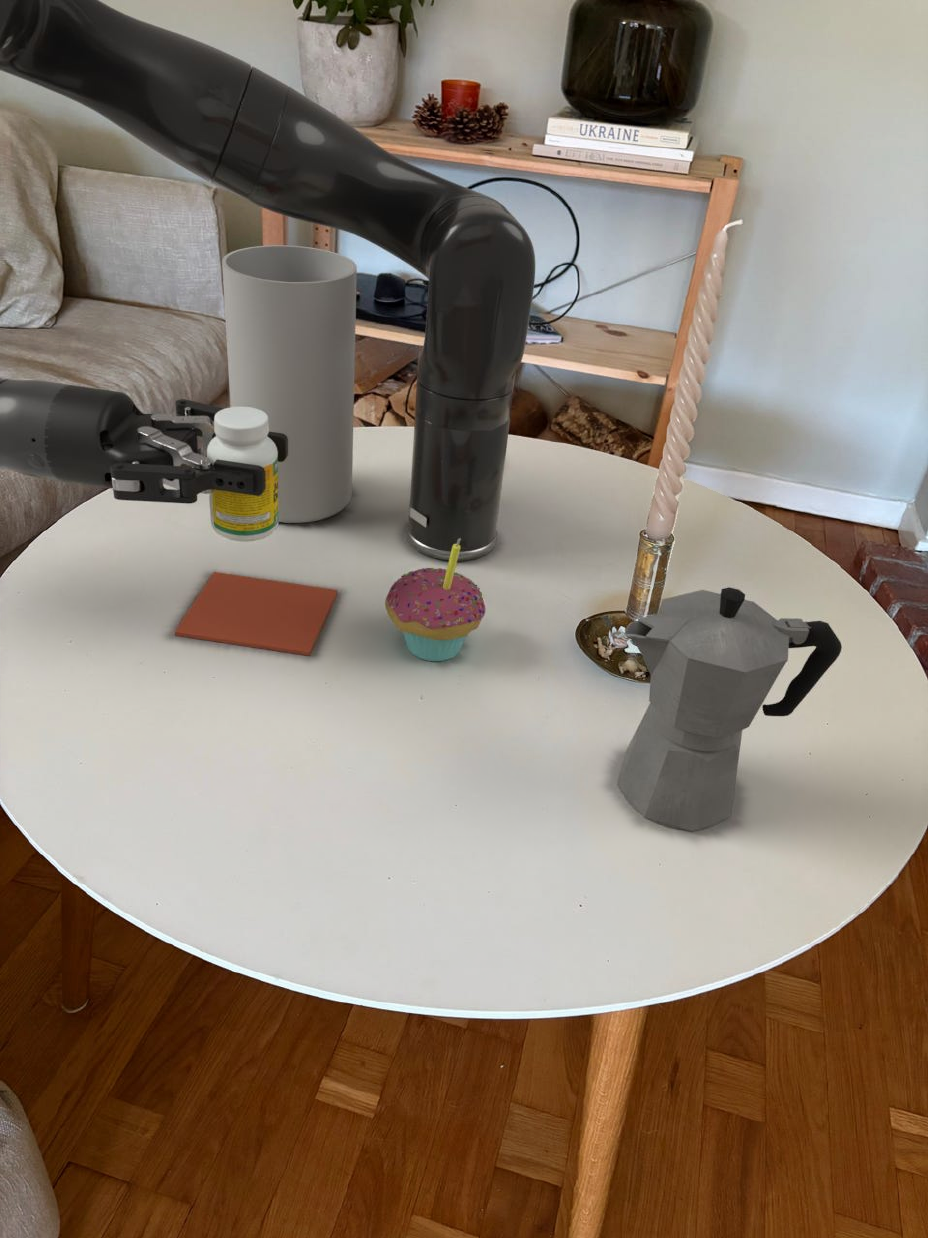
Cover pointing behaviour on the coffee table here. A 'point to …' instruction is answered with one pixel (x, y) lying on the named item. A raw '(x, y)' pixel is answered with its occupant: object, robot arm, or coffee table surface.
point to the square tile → (258, 613)
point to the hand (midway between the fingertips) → (275, 464)
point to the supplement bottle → (249, 444)
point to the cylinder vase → (297, 365)
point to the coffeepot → (709, 699)
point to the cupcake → (435, 609)
